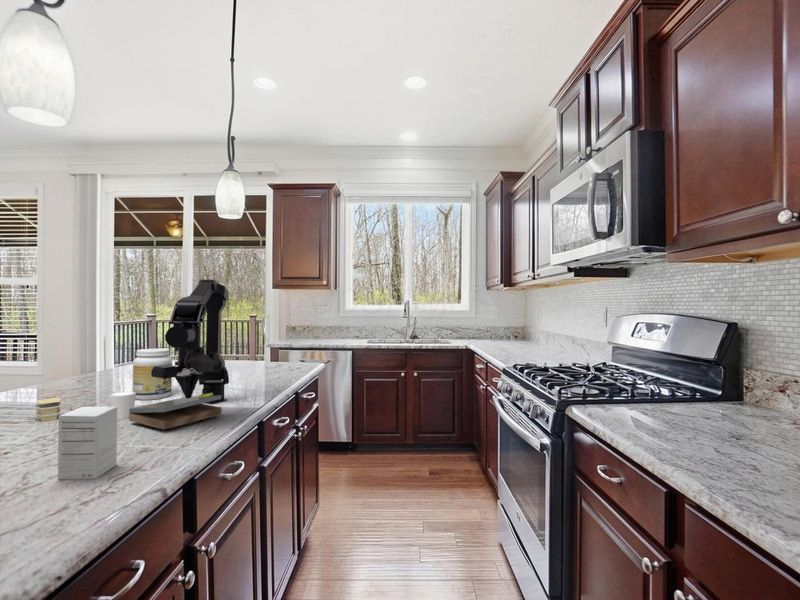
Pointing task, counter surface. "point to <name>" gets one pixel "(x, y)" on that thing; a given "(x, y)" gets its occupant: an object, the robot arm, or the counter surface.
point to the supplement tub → (142, 378)
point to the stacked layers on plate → (48, 409)
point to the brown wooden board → (176, 416)
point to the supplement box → (87, 442)
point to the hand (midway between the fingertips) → (188, 398)
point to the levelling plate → (175, 403)
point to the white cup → (122, 403)
